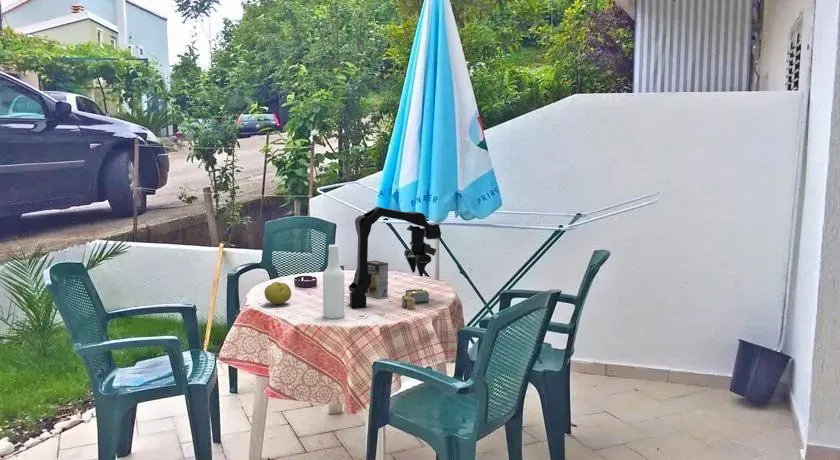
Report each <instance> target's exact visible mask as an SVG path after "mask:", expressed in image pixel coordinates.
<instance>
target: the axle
mask: <svg viewBox="0 0 840 460" xmlns="http://www.w3.org/2000/svg"><path fill="white" fill-rule="evenodd" d="M426 292H428V291H427V290H426V289H425V290H424V289H423V291H411V292H407V293H406V292H405V295H409V296H411V294H413V293H426Z"/></svg>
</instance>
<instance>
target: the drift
mask: <svg viewBox="0 0 840 460" xmlns="http://www.w3.org/2000/svg"><path fill="white" fill-rule="evenodd" d="M401 304H402V305H401V308H403V309H405V310H406V309H407V302H402V301H401ZM407 310H408V309H407Z"/></svg>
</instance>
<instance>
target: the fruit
mask: <svg viewBox="0 0 840 460" xmlns="http://www.w3.org/2000/svg"><path fill="white" fill-rule="evenodd" d="M291 296H292V290H291V287H290V286H289V285H288V284H287V283H285V282H280V281H275V282H272V283H271V284H269V285H267V286H266V287H265V289H264V297H265V299H266V300H267V302H269V303H271V304H273V305H275V306H277V305H278V306H279V305H282V304H283V305H284V303H286V302H287V301H289V300H290V299H291Z"/></svg>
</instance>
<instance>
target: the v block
mask: <svg viewBox="0 0 840 460" xmlns="http://www.w3.org/2000/svg"><path fill="white" fill-rule="evenodd" d="M411 291H424V289H423V288H420V289H409V290H407V289H406V290H405V294H406V293H407V292H411ZM411 297H412V298H414V299H415V305H420V304H429V303H430V293H429V292H428V291H427V292H426V293H413V294H411Z"/></svg>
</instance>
